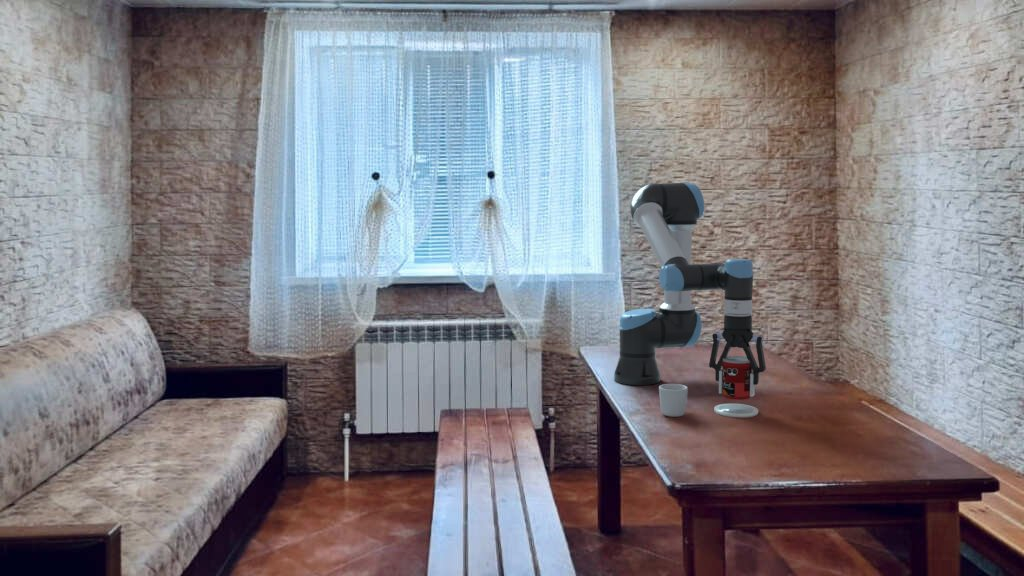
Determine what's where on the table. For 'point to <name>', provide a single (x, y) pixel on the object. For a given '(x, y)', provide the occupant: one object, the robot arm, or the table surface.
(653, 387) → the table surface
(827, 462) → the table surface
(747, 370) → the canned food
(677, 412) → the cup
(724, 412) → the plate
